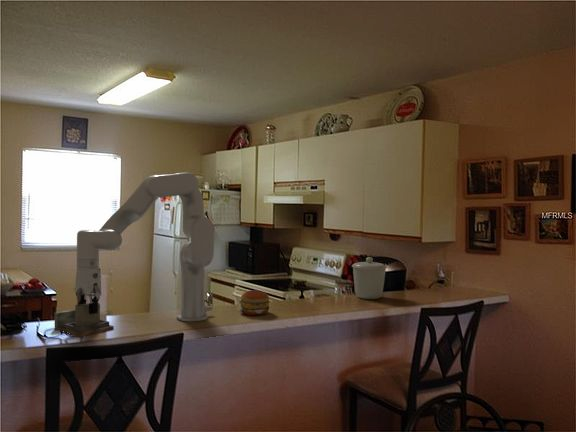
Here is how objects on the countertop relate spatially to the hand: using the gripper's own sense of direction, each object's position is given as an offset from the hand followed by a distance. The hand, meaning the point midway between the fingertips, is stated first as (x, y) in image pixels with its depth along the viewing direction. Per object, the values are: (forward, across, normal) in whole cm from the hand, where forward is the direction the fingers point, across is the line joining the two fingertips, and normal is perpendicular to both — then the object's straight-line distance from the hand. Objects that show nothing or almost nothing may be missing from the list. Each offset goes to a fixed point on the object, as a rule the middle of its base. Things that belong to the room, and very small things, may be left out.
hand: (87, 311), depth 182 cm
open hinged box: (+7, +2, 0) cm, 7 cm away
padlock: (+6, 0, 0) cm, 6 cm away
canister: (+7, -49, -129) cm, 138 cm away
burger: (+7, -28, -62) cm, 68 cm away
